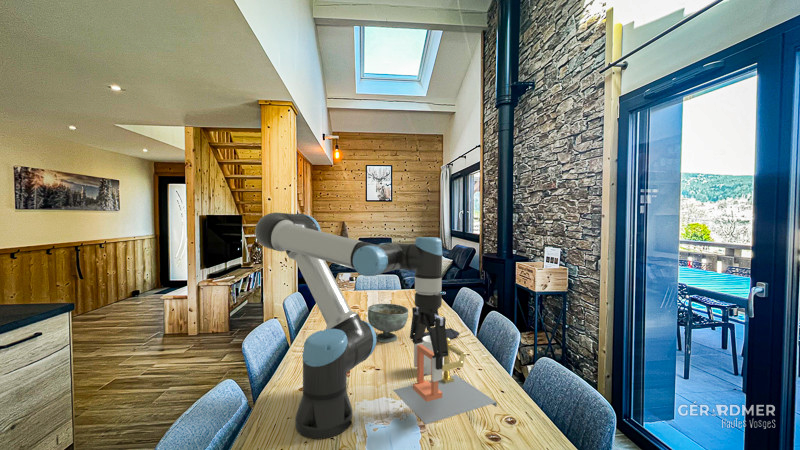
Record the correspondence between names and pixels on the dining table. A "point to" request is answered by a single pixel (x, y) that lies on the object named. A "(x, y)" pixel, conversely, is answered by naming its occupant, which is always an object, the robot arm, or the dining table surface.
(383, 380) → the dining table surface
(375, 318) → the bowl
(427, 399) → the orange rectangular frame
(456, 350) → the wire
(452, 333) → the dark slate chunk
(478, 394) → the board
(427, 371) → the mug
